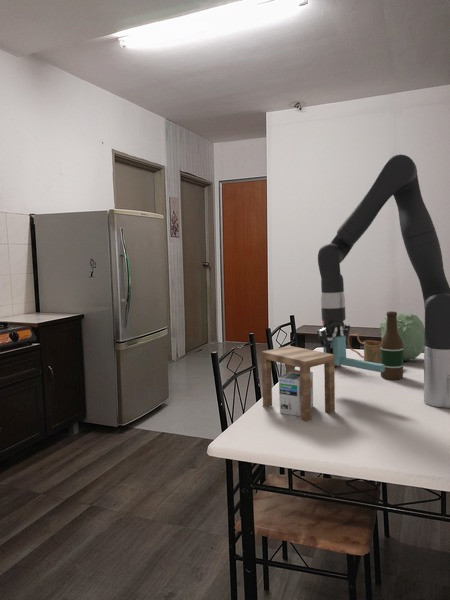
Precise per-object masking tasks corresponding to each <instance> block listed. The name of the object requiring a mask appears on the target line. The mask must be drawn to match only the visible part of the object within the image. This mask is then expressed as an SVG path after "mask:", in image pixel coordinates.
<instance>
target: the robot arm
mask: <svg viewBox="0 0 450 600" xmlns="http://www.w3.org/2000/svg"><path fill="white" fill-rule="evenodd" d="M417 169H418V168H417V165H416V163H415V161H413V159H412V158H411V157H410V156H408V155H406V154H396V155H393V156H391V157H390V158H388V159H386V161H385V163H384V164H383V167H382V168H381V169H380V172H379V173H378V176H377V177H376V178H375V180H374V182H373V183H372V185H371V186H370V188H369V189H368V191H367V193H366V194H365V195H364V196H363V198H362V199H361V200H360V202H359V203H358V204H357V205H356V206H355V208H354V209H353V210H352V211H351V213H349V215H348V216H347V217H346V219H344V221H343V222H342V223H341V225H340V226H339V227H338V229H337V230H336V235H335V236H334V238H333V239H332V240H331V241H330V242H329V243H327V244H326V243H325V244H324V245H322V246H321V247H320V248H319V250H318V254H317V264H318V265H317V266H318V269H319V275H320V279H321V280H320V284H321V285H320V286H321V287H320V288H321V294H320V295H321V298H320V305H321V321H322V320H323V321H324V326H323V325H322V328H321V329H317V330H316V334H317V336H318V340H319V342H320V347H325V348H326V353H329V354H333V341H334V338H335V337H336V336H346V344H348V337H349V336H350V330H351V325H350V324H345V322H344V321H345V320H346V319H347V318H346V298H345V292H344V291H345V288H344V277H343V275H342V273H341V265H340V264H341V263H342V262H343V261H344V260H345V259H346V257H347V256H348V255H349V253H350V251H351V249H352V248H353V247H354V245H355V244H356V243H357V242H359V239H360V238H362V236H363V234H365V233H366V232H367V230H368V228H370V226H371V225H372V223H373V222H374V220H375V219H376V218H377V216H378V214H379V213H380V211H381V209H382V208H383V207H384V205H385V204H386V203H387V202H388V201H389V200H390V199H391V198H392V196H393V198H394V200H395V203H396V206H397V211H398V219H399V220H398V221H399V228H400V232H401V238H402V240H403V244H404V248H405V251H406V255H407V256H408V259H409V261H410V264H411V265H412V268H413V270H414V272H415V274H416V277H417V278H418V281H419V284H420V289H421V293H422V298H423V305H424V328H425V336H424V350H423V352H424V353H423V354H424V355H423V356H424V357H423V402H424V403H425V404H426V405H429V406H432V407H437V408H438V407H439V408H447V409H450V285H449V282H448V280H447V277H446V273H445V268H444V262H443V254H442V250H441V249H442V248H441V243H440V240H439V236H438V234H437V230H436V228H435V224H434V222H433V220H432V217H431V215H430V212H429V210H428V208H427V206H426V204H425V202H424V199H423V195H422V193H421V187H420V183H419V177H418V170H417ZM328 337H332V338H328ZM328 341H330V344H329V342H328ZM324 342H325V343H324Z"/></svg>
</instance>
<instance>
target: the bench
mask: <svg viewBox="0 0 450 600" xmlns="http://www.w3.org/2000/svg"><path fill="white" fill-rule="evenodd" d="M272 362H277V363H281V364H284V365H285V374H286V373H288V372H290V371H291V370H293V369H294V370H296V368H299V370H300V401H301V416H300V421H303V422H310V421H312V407H311V382H310V372H311V368H313V367H318V366H321V365H324V366H323V367H324V369H323V370H324V371H323V372H324V412H325V413H328V414H333V413H335V412H336V402H335V401H336V399H335V398H336V397H335V396H336V395H335V394H336V393H335V390H336V388H335V385H336V384H335V383H336V382H335V379H336V377H335V367H334V354H329V353H324V351H318V350H313V349H309V348H308V349H307V348H302V347H299V346H293V345H287V346H281V347H277V348H273V349H267V350H263V351H261V379H262V380H261V381H262V383H261V385H262V388H261V389H262V407H264V408H267V409H268V408H271V407H273V389H272V388H273V387H272V384H273V383H272V382H273V381H272V379H273V378H272Z"/></svg>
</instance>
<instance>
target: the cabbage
mask: <svg viewBox="0 0 450 600" xmlns="http://www.w3.org/2000/svg"><path fill="white" fill-rule="evenodd" d="M386 326H387V316H386V317H385V318H384V321H383V322H380V324H379V329H380V330H381V331H380V332H379V334H381V339H382V338H383V337H384V335H385V334H386ZM397 330H398V335H399V336H400V338H401V339H402V342H403V362H405V361H407V362H408V361H412V360H415V359H416V358H417V357H419V356H420V355H421V354H422V353H423V352H424V336H425V324H424V322H423V321H422V320H421V319H420V318H419V316H418V315H417V314H412V313H411V314H410V313H409V314H405V313H401V312H397Z"/></svg>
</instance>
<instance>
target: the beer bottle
mask: <svg viewBox="0 0 450 600" xmlns="http://www.w3.org/2000/svg"><path fill="white" fill-rule="evenodd" d="M397 313H398V312H397V311H387V312H386V313H385V314H386V317H387V326H386V334H385V335H384V337H383V338H382V337H381V341H380V342H381V346H380V364H385V371H383V372H380V377H381V378H382V379H383V380H388V381H400V380H401V379H403V377H404V361H403V342H402V339H401V338H400V336H399V335H398V330H397Z"/></svg>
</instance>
